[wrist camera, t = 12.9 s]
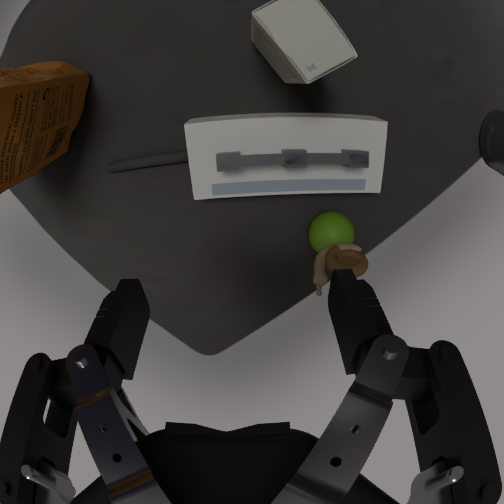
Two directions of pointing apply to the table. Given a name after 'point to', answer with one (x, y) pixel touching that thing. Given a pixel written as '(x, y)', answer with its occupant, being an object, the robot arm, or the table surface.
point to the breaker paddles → (292, 159)
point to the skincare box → (300, 39)
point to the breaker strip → (272, 141)
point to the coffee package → (37, 116)
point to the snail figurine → (334, 247)
